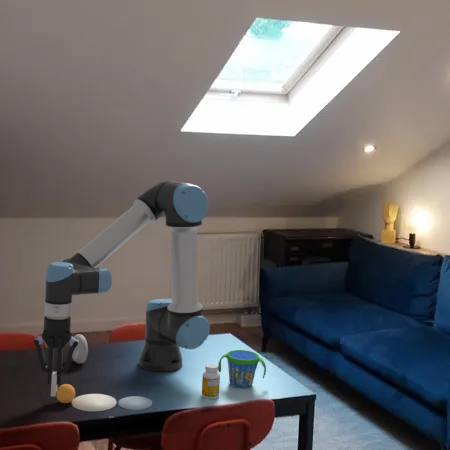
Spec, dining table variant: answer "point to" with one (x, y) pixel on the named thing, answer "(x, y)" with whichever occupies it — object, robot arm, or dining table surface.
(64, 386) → the ball
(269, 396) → the dining table surface
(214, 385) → the supplement bottle
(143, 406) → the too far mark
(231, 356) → the snack cup
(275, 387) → the dining table surface
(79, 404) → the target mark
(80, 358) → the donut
